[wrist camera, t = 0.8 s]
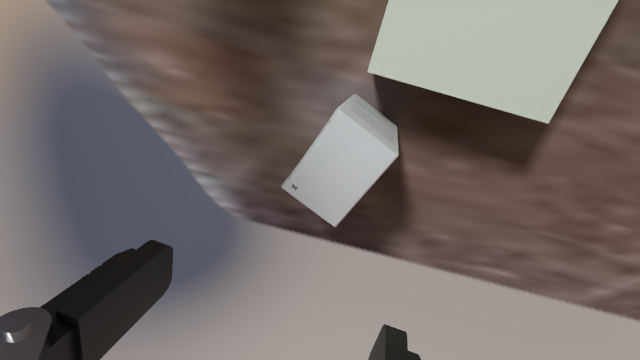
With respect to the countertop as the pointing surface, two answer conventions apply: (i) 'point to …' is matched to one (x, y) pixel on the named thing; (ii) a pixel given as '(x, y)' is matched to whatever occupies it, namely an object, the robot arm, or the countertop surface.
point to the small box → (344, 160)
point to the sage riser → (490, 49)
